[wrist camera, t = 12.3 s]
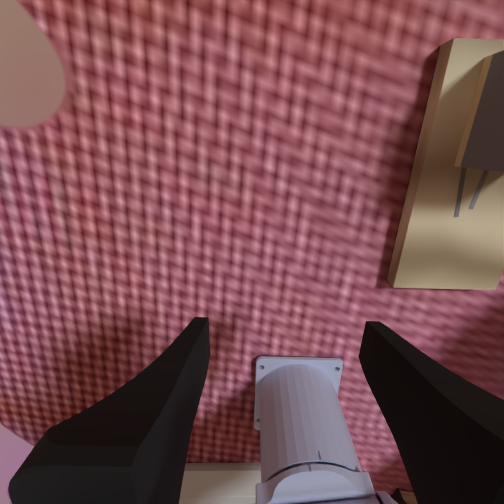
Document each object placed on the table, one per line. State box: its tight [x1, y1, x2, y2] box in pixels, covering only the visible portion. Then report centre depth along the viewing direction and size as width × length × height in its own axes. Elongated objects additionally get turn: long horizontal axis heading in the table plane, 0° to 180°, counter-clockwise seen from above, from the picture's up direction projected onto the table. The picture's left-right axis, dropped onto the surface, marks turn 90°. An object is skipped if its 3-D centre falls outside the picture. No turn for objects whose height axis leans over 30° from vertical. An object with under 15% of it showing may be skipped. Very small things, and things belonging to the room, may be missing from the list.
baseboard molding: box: [179, 463, 261, 504], centre depth 33 cm, size 31×3×12 cm
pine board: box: [387, 38, 504, 290], centre depth 19 cm, size 16×8×1 cm, turn 179°
